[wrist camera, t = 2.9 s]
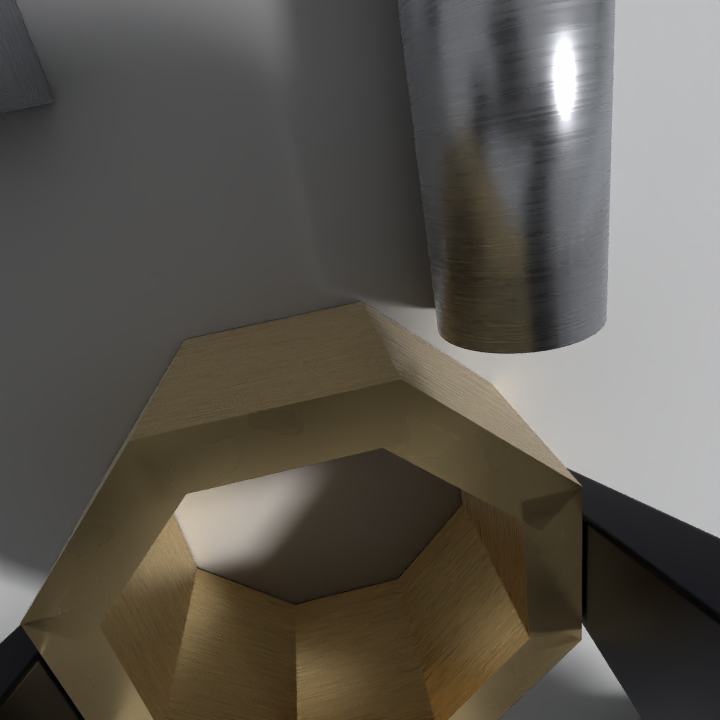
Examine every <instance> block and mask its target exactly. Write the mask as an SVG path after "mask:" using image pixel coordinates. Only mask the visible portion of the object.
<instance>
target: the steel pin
mask: <svg viewBox="0 0 720 720" xmlns="http://www.w3.org/2000/svg"><path fill="white" fill-rule="evenodd" d="M397 1H398V9H399V17H400V25H401V33H402V41H403V49H404V58H405V66H406V74H407V82H408V90H409V98H410V106H411V114H412V122H413V130H414V138H415V147H416V155H417V163H418V171H419V179H420V187H421V195H422V203H423V211H424V219H425V227H426V235H427V244H428V252H429V260H430V268H431V276H432V284H433V292H434V300H435V308H436V316H437V324H438V331H439V334H440V335H441V337H442V338H444V339H445V340H446V341H448V342H449V343H451V344H453V345H456V346H458V347H461V348H464V349H468V350H473V351H479V352H486V353H504V354H513V353H530V352H539V351H546V350H551V349H556V348H560V347H564V346H568V345H571V344H574V343H577V342H580V341H582V340H584V339H587V338H589V337H590V336H592V335H594V334H595V333H597V332H598V331H599V330H600V329H601V328H602V327H603V326H604V325H605V322H606V317H607V280H608V244H609V208H610V171H611V135H612V99H613V62H614V26H615V0H397Z"/></svg>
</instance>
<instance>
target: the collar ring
mask: <svg viewBox="0 0 720 720" xmlns="http://www.w3.org/2000/svg"><path fill="white" fill-rule="evenodd" d="M380 448H384V449H386V450H388V451H390V452H391V453H393V454H395V455H397V456H399V457H401V458H403V459H405V460H407V461H409V462H410V463H412V464H414V465H416V466H418V467H420V468H422V469H424V470H426V471H428V472H429V473H431V474H433V475H435V476H437V477H439V478H441V479H443V480H445V481H447V482H448V483H450V484H452V485H454V486H456V487H458V488H460V489H461V496H462V505H461V507H460V508H459V509H458V510H457V511H456V512H455V514H454V515H453V516H452V517H451V518H450V519H449V521H448V522H447V523H446V524H445V525H444V526H443V528H442V529H441V530H440V531H439V532H438V533H437V534H436V536H435V537H434V538H433V539H432V540H431V541H430V543H429V544H428V545H427V546H426V547H425V548H424V550H423V551H422V552H421V553H420V554H419V555H418V557H417V558H416V559H415V560H414V561H413V562H412V564H411V565H410V566H409V567H408V568H407V569H406V571H405V572H404V573H403V574H402V575H401V576H400V578H399V579H397V580H393V581H389V582H385V583H381V584H377V585H373V586H369V587H365V588H361V589H357V590H353V591H349V592H345V593H341V594H337V595H333V596H329V597H324V598H320V599H316V600H312V601H308V602H304V603H300V604H296V605H295V604H292V603H289V602H286V601H284V600H281V599H278V598H276V597H273V596H270V595H268V594H265V593H262V592H259V591H257V590H254V589H251V588H249V587H246V586H243V585H240V584H238V583H235V582H232V581H230V580H227V579H224V578H222V577H219V576H216V575H213V574H211V573H208V572H205V571H203V570H200V569H197V566H196V564H195V562H194V559H193V557H192V555H191V552H190V550H189V548H188V546H187V543H186V541H185V539H184V536H183V534H182V532H181V529H180V527H179V525H178V522H177V520H176V518H175V515H174V511H175V510H176V508H177V507H178V505H179V504H180V502H181V501H182V499H183V498H184V496H185V495H186V494H188V493H192V492H197V491H201V490H205V489H209V488H214V487H218V486H222V485H226V484H231V483H235V482H239V481H243V480H248V479H252V478H256V477H261V476H265V475H269V474H273V473H278V472H282V471H286V470H290V469H295V468H299V467H303V466H307V465H312V464H316V463H320V462H325V461H329V460H333V459H337V458H342V457H346V456H350V455H354V454H359V453H363V452H367V451H371V450H376V449H380ZM20 624H21V626H22V627H23V629H24V630H25V632H26V633H27V635H28V636H29V638H30V639H31V641H32V642H33V644H34V645H35V647H36V648H37V649H38V651H39V652H40V654H41V655H42V657H43V658H44V660H45V661H46V663H47V664H48V666H49V667H50V669H51V670H52V672H53V673H54V675H55V676H56V678H57V679H58V680H59V682H60V683H61V685H62V686H63V688H64V689H65V691H66V692H67V694H68V695H69V697H70V698H71V700H72V701H73V703H74V704H75V706H76V707H77V708H78V710H79V711H80V713H81V714H82V716H83V717H84V719H85V720H498V719H499V718H500V717H501V716H502V715H503V714H505V713H506V712H507V711H508V710H509V709H510V708H511V707H512V706H513V705H514V704H515V703H516V702H517V701H518V700H519V699H520V698H521V697H522V696H523V695H524V694H525V693H526V692H527V691H529V690H530V689H531V688H532V687H533V686H534V685H535V684H536V683H537V682H538V681H539V680H540V679H541V678H542V677H543V676H544V675H545V674H546V673H547V672H548V671H549V670H550V669H552V668H553V667H554V666H555V665H556V664H557V663H558V662H559V661H560V660H561V659H562V658H563V657H564V656H565V655H566V654H567V653H568V652H569V651H570V650H571V649H572V648H573V647H575V646H576V645H577V644H578V643H579V642H580V641H581V640H582V485H581V484H580V483H579V482H578V481H577V480H576V479H575V478H574V476H573V475H572V474H571V473H570V472H569V471H568V470H567V469H566V467H565V466H564V465H563V464H562V463H561V462H560V461H559V459H558V458H557V457H556V456H555V455H554V454H553V453H552V452H551V450H550V449H549V448H548V447H547V446H546V445H545V444H544V443H543V441H542V440H541V439H540V438H539V437H538V436H537V435H536V434H535V432H534V431H533V430H532V429H531V428H530V427H529V426H528V425H527V423H526V422H525V421H524V420H523V419H522V418H521V417H520V415H519V414H518V413H517V412H516V411H515V410H514V409H513V408H512V406H511V405H510V404H509V403H508V402H507V401H506V400H505V399H504V397H503V396H502V395H501V394H500V393H499V392H498V391H497V390H496V388H495V387H494V386H493V385H492V384H491V383H489V382H488V381H486V380H484V379H483V378H481V377H480V376H478V375H477V374H475V373H473V372H472V371H470V370H469V369H467V368H466V367H464V366H462V365H461V364H459V363H458V362H456V361H455V360H453V359H451V358H450V357H448V356H447V355H445V354H444V353H442V352H440V351H439V350H437V349H436V348H434V347H433V346H431V345H429V344H428V343H426V342H425V341H423V340H422V339H420V338H418V337H417V336H415V335H414V334H412V333H411V332H409V331H407V330H406V329H404V328H403V327H401V326H400V325H398V324H396V323H395V322H393V321H392V320H390V319H389V318H387V317H386V316H384V315H382V314H381V313H379V312H378V311H376V310H375V309H373V308H371V307H370V306H368V305H367V304H365V303H364V302H362V301H361V302H357V303H352V304H347V305H343V306H338V307H334V308H329V309H324V310H320V311H315V312H311V313H306V314H301V315H297V316H292V317H288V318H283V319H278V320H274V321H269V322H265V323H260V324H255V325H251V326H246V327H242V328H237V329H232V330H228V331H223V332H219V333H214V334H209V335H205V336H200V337H196V338H191V339H186V340H184V342H183V343H182V345H181V347H180V348H179V350H178V352H177V353H176V355H175V357H174V359H173V360H172V362H171V364H170V365H169V367H168V369H167V370H166V372H165V374H164V375H163V377H162V379H161V380H160V382H159V384H158V386H157V387H156V389H155V391H154V392H153V394H152V396H151V397H150V399H149V401H148V402H147V404H146V406H145V407H144V409H143V411H142V413H141V414H140V416H139V418H138V419H137V421H136V423H135V424H134V426H133V428H132V429H131V431H130V433H129V434H128V436H127V438H126V440H125V441H124V443H123V445H122V446H121V448H120V450H119V451H118V453H117V455H116V456H115V458H114V460H113V461H112V463H111V465H110V466H109V468H108V470H107V472H106V473H105V475H104V477H103V479H102V480H101V482H100V484H99V486H98V487H97V489H96V491H95V493H94V494H93V496H92V498H91V500H90V501H89V503H88V505H87V507H86V509H85V510H84V512H83V514H82V516H81V517H80V519H79V521H78V523H77V524H76V526H75V528H74V530H73V531H72V533H71V535H70V537H69V539H68V540H67V542H66V544H65V546H64V547H63V549H62V551H61V553H60V554H59V556H58V558H57V560H56V561H55V563H54V565H53V567H52V569H51V570H50V572H49V574H48V576H47V577H46V579H45V581H44V583H43V584H42V586H41V588H40V590H39V591H38V593H37V595H36V597H35V599H34V600H33V602H32V604H31V606H30V607H29V609H28V611H27V613H26V614H25V616H24V618H23V620H22V621H21V623H20Z"/></svg>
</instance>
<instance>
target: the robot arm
mask: <svg viewBox="0 0 720 720" xmlns="http://www.w3.org/2000/svg"><path fill="white" fill-rule="evenodd" d="M566 469H567V470H568V471H569V472H570V473H571V474H572V475H573V476H574V478H575V479H576V480H577V481H578V482H579V483H580V484H581V485H582V623H583V625H584V627H585V628H586V630H587V631H588V633H589V635H590V636H591V638H592V639H593V641H594V643H595V644H596V646H597V648H598V649H599V651H600V652H601V654H602V656H603V657H604V659H605V660H606V662H607V664H608V665H609V667H610V668H611V670H612V672H613V673H614V675H615V676H616V678H617V680H618V681H619V683H620V684H621V686H622V688H623V689H624V691H625V692H626V694H627V696H628V697H629V699H630V700H631V702H632V704H633V705H634V707H635V708H636V710H637V712H638V713H639V715H640V716H641V718H642V720H720V538H718V537H716V536H714V535H711V534H709V533H707V532H705V531H703V530H701V529H698V528H696V527H694V526H692V525H690V524H688V523H685V522H683V521H681V520H679V519H677V518H674V517H672V516H670V515H668V514H666V513H664V512H661V511H659V510H657V509H655V508H653V507H651V506H648V505H646V504H644V503H642V502H640V501H637V500H635V499H633V498H631V497H629V496H627V495H624V494H622V493H620V492H618V491H616V490H614V489H611V488H609V487H607V486H605V485H603V484H601V483H598V482H596V481H594V480H592V479H590V478H587V477H585V476H583V475H581V474H579V473H577V472H574V471H572V470H570V469H568V468H566ZM0 720H85V719H84V717H83V716H82V714H81V713H80V711H79V710H78V708H77V707H76V706H75V704H74V703H73V701H72V700H71V698H70V697H69V695H68V694H67V692H66V691H65V689H64V688H63V686H62V685H61V683H60V682H59V680H58V679H57V678H56V676H55V675H54V673H53V672H52V670H51V669H50V667H49V666H48V664H47V663H46V661H45V660H44V658H43V657H42V655H41V654H40V652H39V651H38V649H37V648H36V647H35V645H34V644H33V642H32V641H31V639H30V638H29V636H28V635H27V633H26V632H25V630H24V629H23V627H22V626H21V625H20V626H19V627H17V628H16V629H15V630H14V631H13V632H12V633H11V634H10V635H9V636H8V637H7V638H6V639H5V640H4V641H3V642H1V643H0Z"/></svg>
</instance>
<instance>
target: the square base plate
mask: <svg viewBox="0 0 720 720" xmlns="http://www.w3.org/2000/svg"><path fill="white" fill-rule="evenodd" d="M52 103H55V102H54V99H53V96H52V94H51V91H50V89H49V86H48V84H47V81H46V78H45V76H44V73H43V71H42V68H41V66H40V63H39V60H38V58H37V55H36V53H35V50H34V48H33V45H32V42H31V40H30V37H29V35H28V32H27V30H26V27H25V24H24V22H23V19H22V17H21V14H20V12H19V9H18V6H17V4H16V1H15V0H0V113H4V112H10V111H15V110H20V109H26V108H31V107H36V106H41V105H47V104H52Z"/></svg>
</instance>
